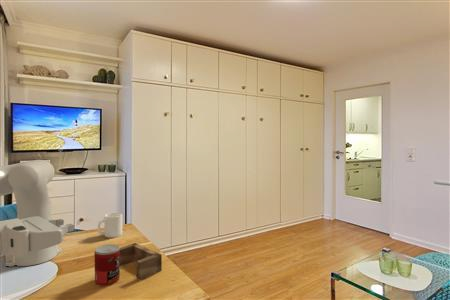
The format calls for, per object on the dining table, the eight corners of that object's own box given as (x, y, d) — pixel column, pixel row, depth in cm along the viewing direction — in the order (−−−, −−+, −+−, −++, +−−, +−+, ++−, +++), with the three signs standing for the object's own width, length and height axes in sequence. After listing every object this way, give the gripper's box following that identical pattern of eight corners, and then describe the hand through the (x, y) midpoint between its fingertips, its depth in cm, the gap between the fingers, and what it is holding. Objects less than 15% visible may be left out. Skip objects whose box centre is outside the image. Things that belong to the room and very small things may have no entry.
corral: (114, 265, 104) (113, 249, 103) (135, 257, 111) (135, 243, 110) (139, 280, 93) (139, 262, 93) (161, 270, 100) (161, 254, 100)
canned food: (111, 287, 88) (110, 253, 88) (89, 284, 90) (88, 251, 89) (124, 276, 96) (124, 245, 95) (104, 273, 97) (103, 243, 97)
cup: (125, 234, 137) (125, 214, 137) (101, 241, 128) (101, 219, 128) (117, 231, 142) (117, 211, 142) (93, 237, 133) (93, 216, 133)
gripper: (1, 238, 79) (54, 227, 89) (23, 259, 66) (82, 242, 76) (0, 217, 78) (54, 208, 89) (22, 233, 65) (82, 220, 76)
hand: (67, 224), depth 83 cm, fingers open, 6 cm apart
